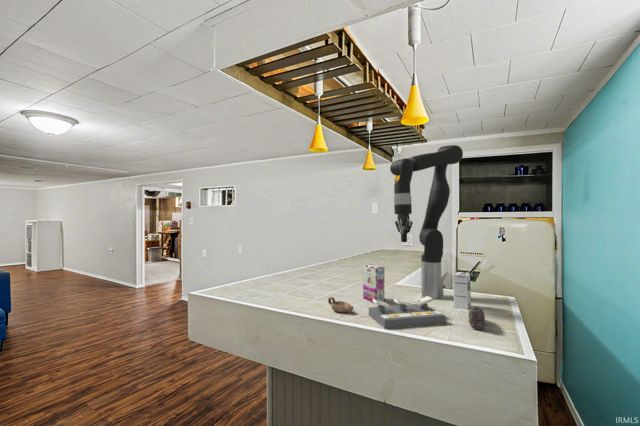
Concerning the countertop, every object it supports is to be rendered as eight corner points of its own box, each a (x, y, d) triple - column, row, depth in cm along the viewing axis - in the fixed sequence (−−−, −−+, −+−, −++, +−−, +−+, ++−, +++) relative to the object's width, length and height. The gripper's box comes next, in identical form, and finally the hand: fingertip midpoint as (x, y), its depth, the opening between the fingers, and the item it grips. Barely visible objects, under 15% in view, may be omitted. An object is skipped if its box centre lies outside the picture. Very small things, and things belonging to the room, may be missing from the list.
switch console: (422, 310, 134) (422, 298, 134) (445, 323, 119) (445, 309, 119) (368, 314, 129) (368, 302, 129) (384, 328, 114) (384, 314, 114)
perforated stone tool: (469, 318, 125) (469, 300, 125) (484, 320, 122) (484, 302, 122) (468, 331, 111) (468, 311, 111) (485, 333, 109) (485, 313, 109)
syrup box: (467, 309, 136) (467, 275, 136) (453, 306, 140) (453, 273, 140) (471, 306, 141) (470, 273, 141) (456, 303, 144) (456, 271, 144)
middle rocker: (407, 303, 128) (407, 300, 128) (411, 305, 125) (412, 303, 125) (393, 301, 127) (394, 298, 127) (397, 303, 124) (398, 300, 124)
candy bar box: (385, 302, 147) (385, 266, 147) (376, 304, 145) (375, 267, 145) (371, 297, 157) (371, 263, 157) (362, 298, 155) (362, 264, 155)
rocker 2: (428, 298, 130) (427, 295, 130) (433, 300, 127) (432, 298, 127) (415, 303, 129) (414, 300, 129) (419, 305, 125) (419, 303, 125)
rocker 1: (385, 305, 126) (386, 303, 126) (389, 308, 123) (390, 305, 123) (372, 301, 125) (373, 298, 125) (375, 303, 122) (376, 301, 122)
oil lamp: (357, 312, 133) (357, 300, 133) (345, 316, 128) (345, 304, 128) (335, 306, 143) (335, 294, 143) (323, 309, 138) (323, 297, 138)
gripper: (417, 202, 139) (419, 242, 139) (403, 203, 152) (404, 240, 152) (401, 203, 137) (403, 243, 137) (388, 204, 150) (390, 241, 150)
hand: (404, 242), depth 145 cm, fingers closed
